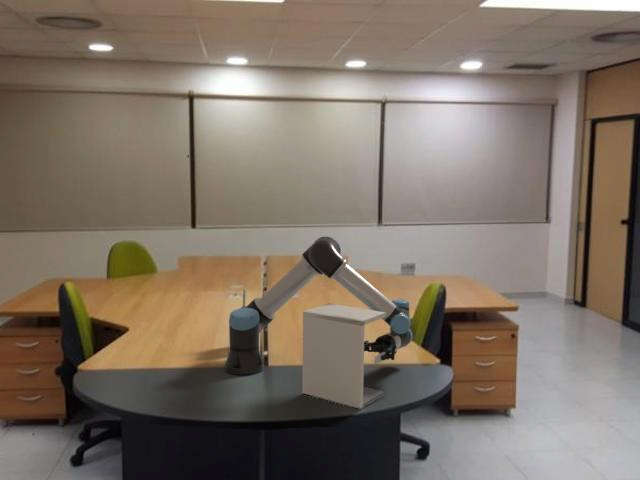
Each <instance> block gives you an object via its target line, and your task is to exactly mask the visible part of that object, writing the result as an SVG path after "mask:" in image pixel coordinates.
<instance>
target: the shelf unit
mask: <svg viewBox="0 0 640 480" xmlns="http://www.w3.org/2000/svg"><path fill="white" fill-rule="evenodd" d="M384 317H386V312H380V311H374V310H371V309H367V308H360V307H354V306H353V307H352V306H347V305H341V304H335V303H326V304H323V305H320V306H316V307H312V308H310V309H306V310H303V311H302V389H301V390H302V392H301V393H305V394H309V395H314V396H318V397H323V398H326V399H330V400H333V401H337V402H341V403H345V404H349V405H353V406H357V407H360V408H361V407H362V406H364V405H366V404H367V403H369V402H371V401H373V400H374V399H377V398H378V397H380V396H382V395H384V396H385V391H382V390H379V389H375V388H370V387H366V386H364V377H365V376H364V374H365V373H364V369H365V368H364V367H365V366H364V364H365V363H364V362H365V351H364V341H365V325H368V324H370V323H373V322H375V321H378V320H382V318H384Z"/></svg>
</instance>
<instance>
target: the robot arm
mask: <svg viewBox="0 0 640 480" xmlns="http://www.w3.org/2000/svg"><path fill="white" fill-rule="evenodd" d="M347 263H348V262H347V259H345V257H344V256H342V255H341V247H340V244H339V242H338V241H337V240H336V239H335V238H334V237H330V236H320V237H318V238H317V239H316V240H315V241H314V243H312V244H311V245H310V246H309V247H308V248H307V249H306V250H305V251H304V252H302V254H301V260H300V261H299V262H297V264H295V265H294V266H293V267H292V268H291V269H290V270H289V271H288V272H286V274H285V275H284V276H283V277H281V278H280V279H279V280H278V281H277V282H276V283H275V284H274V285H273V286H272V287H271V288H269V290H268V291H267V292H265V294H263V295H262V296H261V297H255V298H254V299H253V300H252V301H251V302H249V304H247V305H245V306H246V307H245V308H241V307H240V308H237V309H234V310H232V311H231V312H230V314H229V318H228V324H229V326H228V327H229V328H228V329H229V350H228V355H227V358H226V361H225V366H224V367H225V368H224V370H225V372H227V373H228V374H231V375H236V374H240V375H239V376H244V375H243V374H250V375H255V374H259V373H261V372H262V371H263V370H264V360H263V358H262V354H261V351H260V333H261V332H262V331H263V330H264V329H265V328H266V327H267V326H268V325H269V324H271V322H272V321H273V320H274V319H275V317H276V316H275V315H276V313H277V312H278V311H279V310H280V309H281V308H282V307H283V306H284V305H285V304H287V302H289V301H290V300H291V298H293V297H294V296H295V295H296V294H297V293H298V292H299V291H301V289H303V288H304V287H305V286H306V285H307V284H308V283H309V282H310V281H312V279H314V278H315V277H316V276H322V275H324V276H326V277H327V278H328V279H330V280H335V281H336V282H338V283H339V284H340V285H341V286H342V287H343V288H344V289H346V290H347V291H348V292H349V293H350V294H351V295H352V296H354V297H355V298H356V299H358V301H360V302H361V303H362V304H364V306H366V307H367V308H368V309H369V310H374V311H380V312H386V317H384V318H381V320H383V321H384V322H385V323H386V324H387V325H388V326H390V327H389V328H390V329H389V330H390V331H389V332H387V333H385V334H382V335H380V336H378V337H377V338H376V339H375V341H373V342H369V340H364V352H367V353H378V354H376V355H374V364H376V365H377V364H379V363H381V362H383V361H386V360H390V359H391V360H392V361H395V355H396V354H397V352H398V350H399V349H402V348H406V347H407V346H408V345H409V344H411V342H412V341H413V336H414V335H413V332H412V330H411V329H410V328H411V323H412V321H411V317H410V316H411V315H410V310H411V309H410V308H411V307H410V302H409V301H408V300H406V299H393V300H390V299H389V298H388V297H387V296H386V295H384V294H383V293H382V292H381V291H379V290H378V289H377V288H376V287H375V286H374V285H372V284H371V283H370V282H369V281H368V280H366V279H365V278H364V276H362V275H361V274H360V273H358V272H357V271H356V270H354V269H353V268H352V266H350V265H349V264H347ZM258 372H259V373H258Z"/></svg>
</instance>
